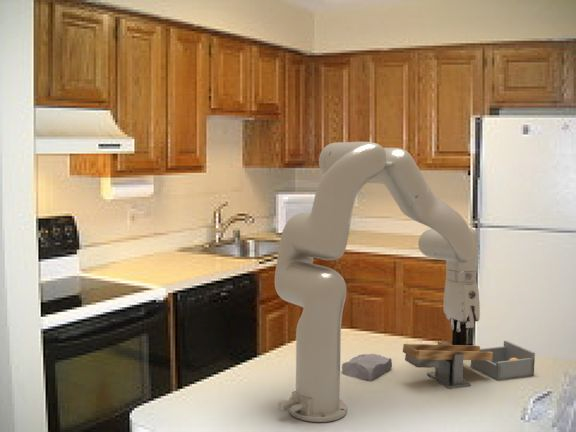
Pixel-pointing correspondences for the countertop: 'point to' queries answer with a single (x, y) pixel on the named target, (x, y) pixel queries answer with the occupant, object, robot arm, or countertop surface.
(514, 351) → the tray
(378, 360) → the stone block
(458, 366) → the fulcrum
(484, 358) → the seesaw
